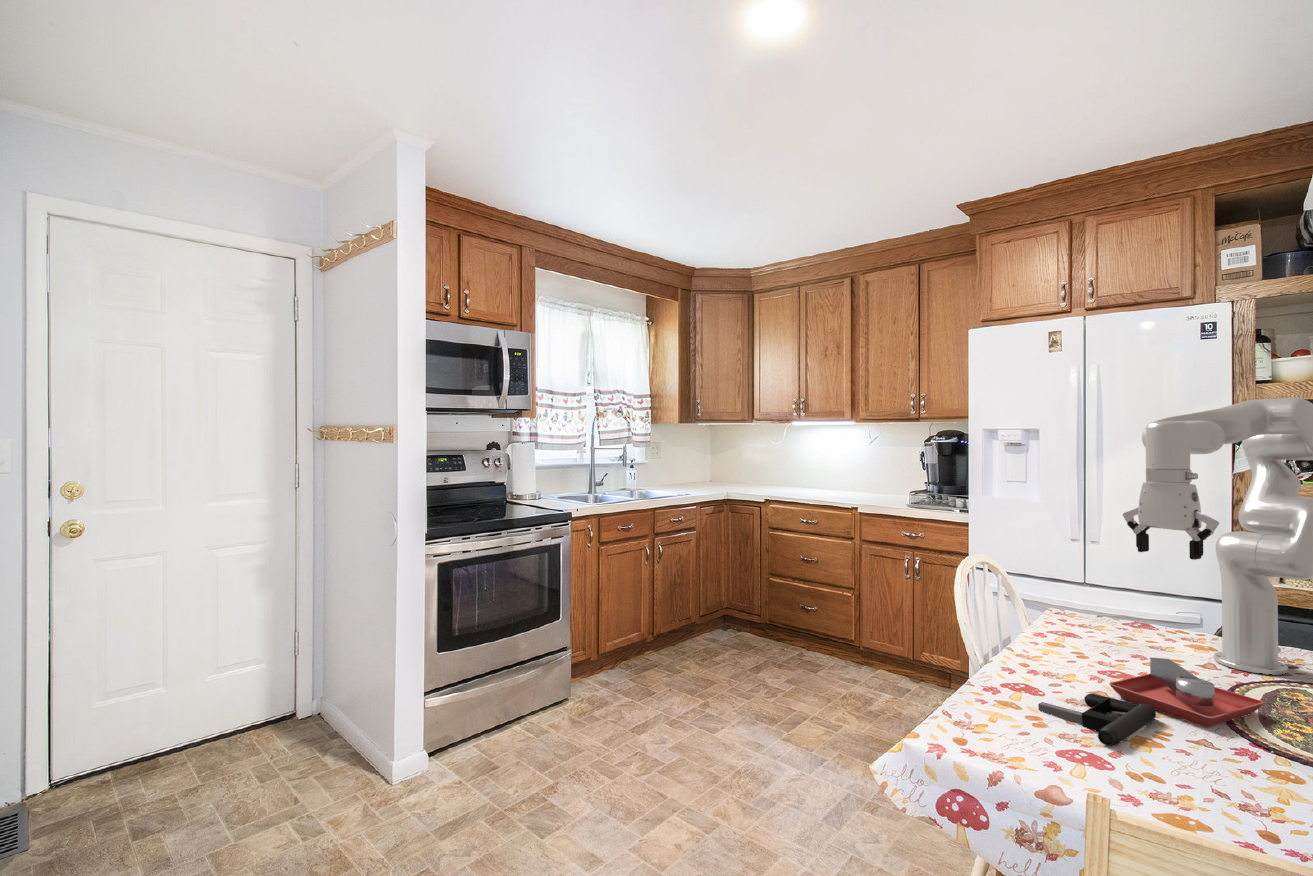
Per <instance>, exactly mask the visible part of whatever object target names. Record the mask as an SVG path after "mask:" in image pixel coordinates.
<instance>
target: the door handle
mask: <svg viewBox="0 0 1313 876" xmlns="http://www.w3.org/2000/svg"><path fill="white" fill-rule="evenodd" d="M1084 703H1085V704H1086V705H1087V706H1088V707H1090V708H1089V709H1086V710H1085V711H1083V712H1081V711H1078V710H1073V709H1070V708H1066V707H1063V706H1059V705H1055V704H1052V703H1047V702H1044V701H1041V702H1039V703H1038V705H1037V706H1038V711H1039V710H1040V712H1042V711H1043V712H1042V713H1044V714H1045V713H1046V714H1047V715H1051V714H1052V715H1051V716H1053V717H1056V716H1057V718H1059V719H1063V720H1065V719H1066V721H1069V722H1072V723H1075V724H1080V725H1082V727H1083V728H1085V729H1089V730H1092V731H1094V732H1097V738H1098V741H1099V742H1100V743H1101V744H1102V745H1104V746H1106V747H1113V746H1118V744H1120V743H1121V742H1126V741H1131V739H1133V738H1134V737H1136V736H1138V735H1139V734H1140V733H1142V732H1144V730H1146V729H1147V725H1148V724H1149V723H1150V722H1152V721H1153V720H1154V721H1159V722H1160V720H1158V719H1155V718H1156V717H1157V716H1160V715H1158V714H1156V713H1157V712H1156V709H1153V708H1152V707H1151V706H1150V705H1147V704H1139V703H1135V702H1129V701H1125V700H1121V699H1116V698H1112V697H1108V696H1105V695H1100V694H1096V693H1088V694H1086V695H1084ZM1109 712H1110V713H1111V714H1108V713H1109Z"/></svg>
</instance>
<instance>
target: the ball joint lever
mask: <svg viewBox="0 0 1313 876" xmlns="http://www.w3.org/2000/svg"><path fill="white" fill-rule="evenodd" d="M1149 659H1150V660H1149V662H1150V664H1149V666H1150V667H1149V669H1150V672H1149V674H1151V675H1153V676H1154V677H1155V678H1157V679H1158V680H1159V681H1161V682H1162V683H1163V684H1165V685H1166V686H1167V687H1169V688H1170V689H1171V690H1173V691H1174V692H1175V693H1176V697H1177V698H1178V699H1179V700H1181V701H1183V702H1186V703H1189V704H1193V705H1198V706H1207V707H1209V706H1214V705H1215V699H1214V687H1215V684H1214V683H1212V682H1211V681H1208V680H1205V679H1202V678H1199V677H1197V676H1196V675H1195V674H1193V673H1192V672H1190V671H1188V670H1187V669H1185V668H1184V667H1182V666H1180V665H1179V664H1178V663H1176V662H1175V661H1173V660H1171V659H1170V658H1165V657H1164V658H1163V657H1162V658H1161V657H1149Z"/></svg>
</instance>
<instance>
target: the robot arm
mask: <svg viewBox="0 0 1313 876" xmlns="http://www.w3.org/2000/svg"><path fill="white" fill-rule="evenodd" d="M1141 435H1142V436H1141V442H1142V445H1143V446H1144V448H1145V482H1142V484H1141V489H1140V493H1139V500H1138V507H1136V508H1133V509H1131V510H1129V511H1125V512H1123V513H1122V517H1123V518H1124V520H1125V522H1126V525H1127V526H1128V528H1130V529H1131V530H1132V532H1133V534H1135V536H1136V537H1135V546H1136V548H1137V552H1138V553H1145V552H1150V551H1149V550H1150V535H1149V533H1147V532H1148V531H1149V530H1150V529H1151V528H1154V529H1155V528H1156V529H1163V530H1171V531H1181V532H1183V531H1185V533H1186V534H1187V535H1188V536H1189V537H1190V538H1191V539H1192V540H1189V543H1188V544H1189V545H1188V546H1189V548H1188V549H1189V559H1190V560H1193V561H1196V560H1200V559H1202V557H1203V555H1204V541H1205V540H1207V539H1208V537H1210V536H1212V535H1213V534H1214V532H1215V530H1216V529H1217V528H1218V526H1219V525H1220V522H1219V520H1217V519H1215V518H1213V517H1211V516H1208V515H1207V514H1205V513H1203V512H1202V509H1201V503H1200V502H1201V500H1200V496H1199V492H1198V488H1197V486H1196V484H1194V483H1191V482H1192V481H1193V480H1198V478H1199V474H1198V472H1197V473H1196V472H1193V471H1192V469H1191V455H1207V454H1208V455H1209V454H1212V453H1216V452H1217V451H1219V450H1220V449H1221V448H1222V447H1223V446H1224V445H1230V444H1236V443H1240V442H1242V443H1241V444H1242V449H1243V452H1244V454H1245V457H1246V460H1247V463H1248V465H1249V468H1250V471H1251V480H1250V483H1249V486H1248V489H1247V491H1246V494H1245V495H1244V498H1243V501H1242V503H1241V505H1240V508H1239V512H1238V523H1239V525H1240V526H1241V527H1242V528H1244V529H1245V530H1247V531H1241V530H1240V531H1238V530H1237V531H1230V532H1229V531H1228V532H1225V533H1223V534H1222V535H1220V536H1219V537H1218V538H1217V540H1216V542H1215V554H1216V559H1217V563H1218V566H1219V572H1220V579H1221V625H1222V626H1221V631H1222V632H1221V633H1222V634H1221V635H1222V636H1221V637H1222V638H1221V639H1222V643H1221V644H1222V649H1221V651H1217V652H1214V654H1213V659H1214V661H1215V662H1217V663H1218V664H1221V665H1223V666H1225V667H1229V668H1232V669H1235V670H1239V671H1244V672H1249V673H1253V674H1254V673H1255V674H1259V673H1263V674H1262V675H1269V674H1272V676H1273V675H1274V676H1280V675H1281V676H1282V674H1283V675H1286V674H1288V673H1289V667H1288V666H1287V665H1286V664H1285V663H1283V662H1281V661H1279V654H1280V653H1281V650H1282V649H1281V648H1280V647H1279V609H1278V608H1279V607H1278V606H1279V605H1278V604H1279V601H1278V600H1279V598H1278V592H1277V590H1276V588H1275V586H1273V584H1272V582H1271V581H1270V580H1269V579H1268V578H1267V576H1270V577H1275V578H1281V579H1282V578H1283V579H1288V580H1295V581H1296V580H1297V581H1307V580H1312V579H1313V497H1310V496H1308V497H1307V496H1299V493H1300V491H1301V486H1302V483H1301V481H1300V478H1299V477H1298V476H1297V474H1296V473H1295V472H1293V470H1292V469H1290V468H1289V467H1288V465H1286V464H1285V463H1284V461H1285V460H1286V461H1313V403H1312V402H1310V401H1309V400H1307V399H1305V398H1301V397H1283V398H1282V397H1281V398H1276V397H1275V398H1257V399H1251V400H1250V399H1249V400H1245V401H1242V402H1238V403H1234V404H1230V405H1227V406H1223V407H1220V408H1215V409H1209V410H1203V411H1197V412H1193V413H1187V414H1181V415H1175V416H1169V417H1165V418H1161V419H1158V420H1155V421H1152V422H1149V423H1147V425H1146V426H1145V428H1144V429H1143V431H1142V434H1141ZM1283 460H1284V461H1283ZM1135 516H1137V519H1138V522H1137V521H1136V520H1135ZM1203 523H1204V524H1205V525H1206V526H1205V527H1204V529H1202V530H1200V529H1201V528H1202V526H1203V525H1202V524H1203ZM1285 673H1286V674H1285Z"/></svg>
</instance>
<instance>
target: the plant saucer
mask: <svg viewBox="0 0 1313 876" xmlns="http://www.w3.org/2000/svg"><path fill="white" fill-rule="evenodd" d="M1108 685H1109V686H1110V687H1111V688H1112V690H1114V691H1115V693H1117V694H1118V696H1120V697H1121V698H1123V699H1124V700H1125V699H1126V700H1128V701H1131V702H1132V703H1135V704H1138V705H1140V704H1147V705H1150V706H1151V707H1152V708H1153V709H1154V710H1155V711H1159V712H1161V713H1163V714H1167V715H1169V714H1170V715H1169V716H1173V717H1176V718H1178V719H1181V720H1184V721H1186V722H1189V723H1193V724H1195V725H1198V726H1201V727H1203V728H1209V727H1212V726H1216V725H1219V724H1223V723H1227V722H1230V721H1233V720H1237V719H1239V717H1240V718H1243V717H1242V716H1244V717H1246V716H1245V715H1247V716H1249V715H1248V714H1250V715H1252V714H1253V713H1254V712H1256V711H1257V710H1259V709H1260V708H1262V707H1263V705H1265V702H1264V701H1262V700H1260V699H1257V698H1253V697H1250V696H1246V695H1242V694H1240V693H1236V692H1233V691H1230V690H1226V689H1223V688H1219V687H1217V686H1214V699H1215V705H1214V706H1209V707H1207V706H1198V705H1193V704H1189V703H1186V702H1183V701H1181V700H1179V699H1178V698H1177V697H1176V693H1175V692H1174V691H1173V690H1171V689H1170V688H1169V687H1167V686H1166V685H1165V684H1163V683H1162V682H1161V681H1159V680H1158V679H1157V678H1155V677H1154V676H1153V675H1151V674H1150V673H1147V674H1142V675H1137V676H1134V677H1129V678H1125V679H1120V680H1116V681H1111V682H1109V683H1108ZM1236 718H1237V719H1236ZM1232 719H1233V720H1232Z"/></svg>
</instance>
